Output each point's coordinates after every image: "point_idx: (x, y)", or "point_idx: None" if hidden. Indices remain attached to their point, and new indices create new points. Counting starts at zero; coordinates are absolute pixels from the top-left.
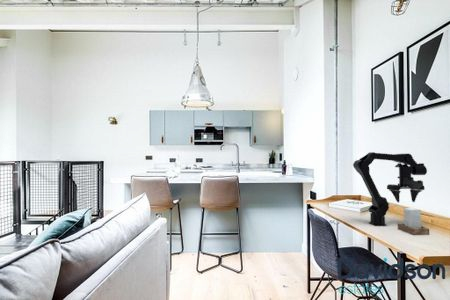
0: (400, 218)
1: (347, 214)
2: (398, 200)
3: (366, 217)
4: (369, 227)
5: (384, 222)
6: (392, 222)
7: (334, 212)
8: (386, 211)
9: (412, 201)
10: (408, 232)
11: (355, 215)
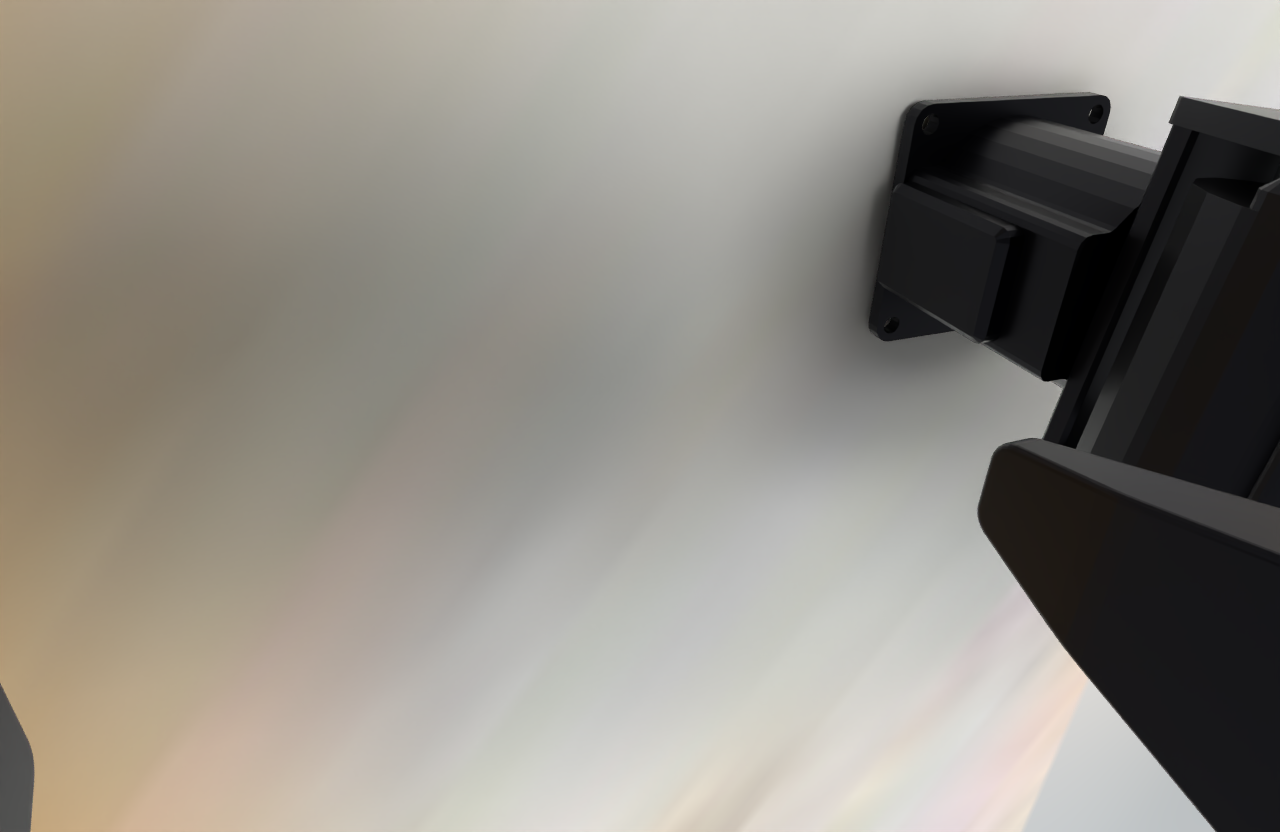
0: (156, 742)
1: (911, 769)
2: (1137, 470)
3: (786, 667)
4: (1255, 2)
5: (923, 188)
6: (582, 385)
7: (979, 820)
8: (1258, 117)
9: (28, 771)
10: None
11: (851, 744)
